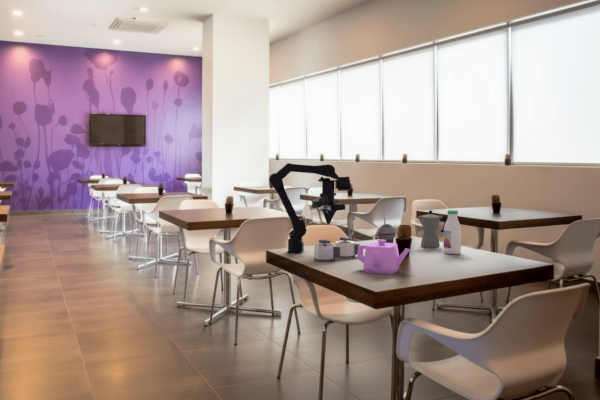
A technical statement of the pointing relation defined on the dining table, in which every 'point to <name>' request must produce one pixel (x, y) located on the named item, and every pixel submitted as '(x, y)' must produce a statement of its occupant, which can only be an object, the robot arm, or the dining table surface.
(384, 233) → the beverage cup
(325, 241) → the steel plunger
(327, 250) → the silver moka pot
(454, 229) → the milk bottle
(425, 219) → the coffeepot
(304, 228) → the robot arm
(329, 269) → the dining table surface
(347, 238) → the cream plunger
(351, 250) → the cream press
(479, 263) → the dining table surface
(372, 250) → the teakettle
